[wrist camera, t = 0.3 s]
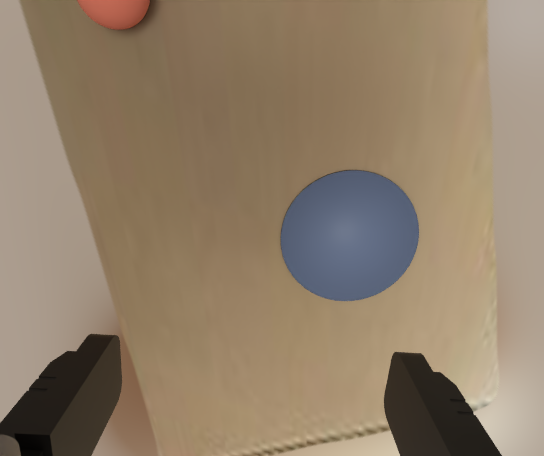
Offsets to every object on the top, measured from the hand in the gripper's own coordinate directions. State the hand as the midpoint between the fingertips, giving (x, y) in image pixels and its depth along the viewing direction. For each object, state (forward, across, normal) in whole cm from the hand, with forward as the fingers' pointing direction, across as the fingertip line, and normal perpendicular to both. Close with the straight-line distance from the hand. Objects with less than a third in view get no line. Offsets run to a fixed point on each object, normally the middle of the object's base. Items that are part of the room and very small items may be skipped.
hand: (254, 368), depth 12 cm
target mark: (+28, -9, +6) cm, 30 cm away
